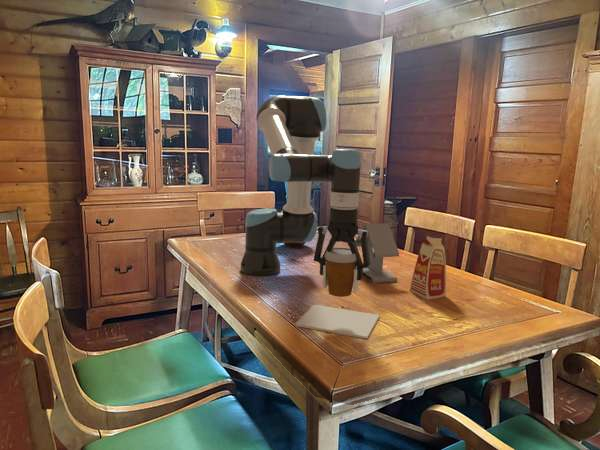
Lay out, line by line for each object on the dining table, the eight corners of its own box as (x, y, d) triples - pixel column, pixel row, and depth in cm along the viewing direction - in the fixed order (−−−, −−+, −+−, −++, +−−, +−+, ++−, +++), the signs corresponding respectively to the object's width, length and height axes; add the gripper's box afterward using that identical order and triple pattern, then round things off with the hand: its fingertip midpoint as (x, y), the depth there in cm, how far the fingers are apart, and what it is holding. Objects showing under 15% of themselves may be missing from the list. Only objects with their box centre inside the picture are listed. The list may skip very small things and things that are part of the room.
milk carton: (427, 299, 149) (432, 239, 145) (408, 290, 157) (412, 233, 153) (448, 296, 153) (453, 237, 150) (428, 287, 161) (433, 231, 158)
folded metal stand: (397, 282, 166) (401, 228, 163) (373, 284, 164) (376, 229, 160) (374, 268, 184) (377, 218, 180) (352, 269, 181) (355, 219, 177)
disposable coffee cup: (356, 300, 122) (358, 256, 120) (320, 297, 124) (322, 254, 122) (358, 289, 131) (360, 248, 129) (325, 286, 133) (326, 246, 131)
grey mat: (294, 325, 125) (295, 323, 125) (314, 306, 140) (314, 304, 140) (367, 339, 119) (367, 336, 118) (379, 317, 133) (379, 315, 133)
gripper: (302, 206, 123) (300, 287, 128) (380, 212, 116) (374, 298, 120) (312, 202, 130) (309, 280, 134) (385, 208, 123) (380, 290, 127)
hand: (340, 288), depth 127 cm, fingers closed on disposable coffee cup, 8 cm apart
